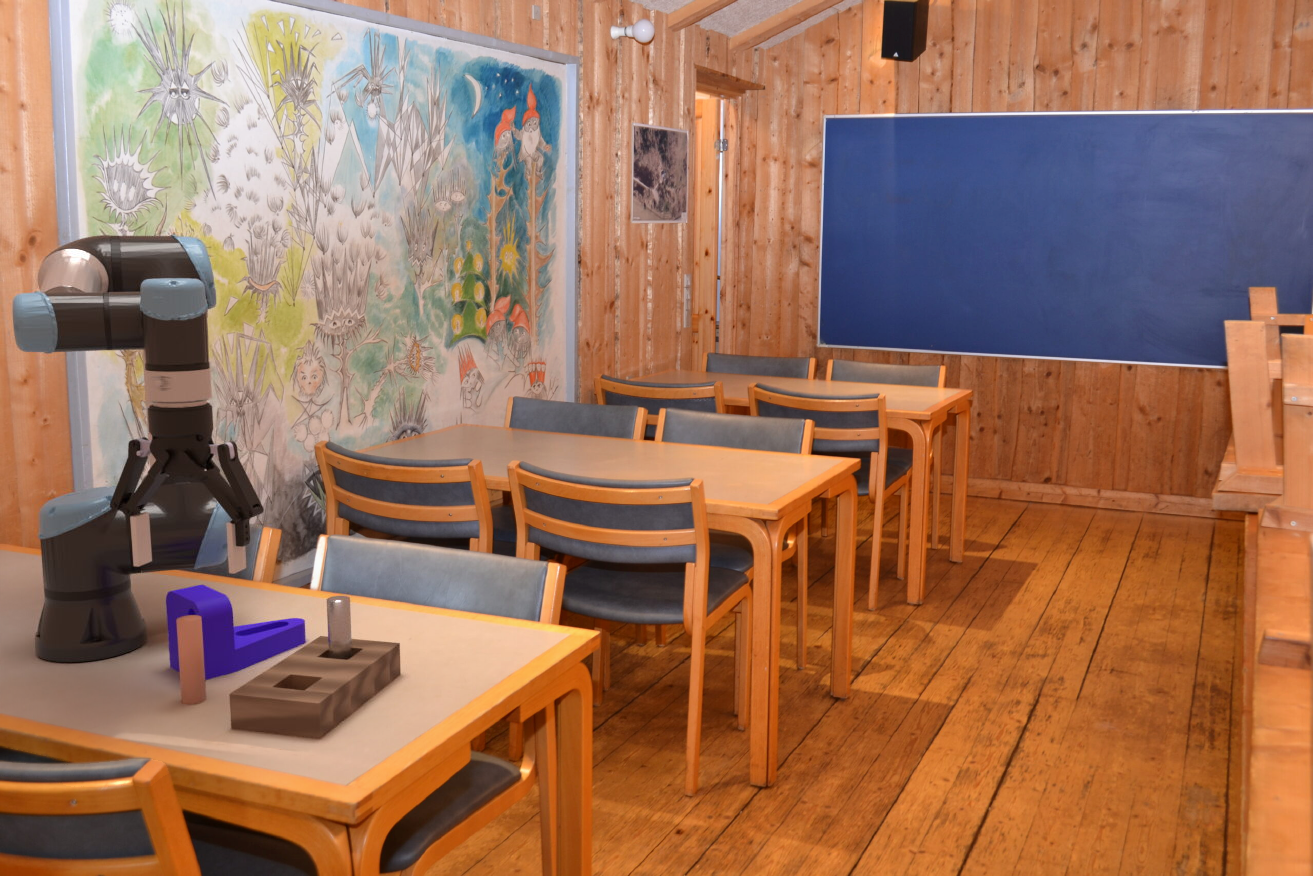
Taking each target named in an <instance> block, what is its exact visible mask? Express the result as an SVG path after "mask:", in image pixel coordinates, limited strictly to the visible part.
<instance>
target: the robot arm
mask: <svg viewBox="0 0 1313 876" xmlns="http://www.w3.org/2000/svg"><path fill="white" fill-rule="evenodd" d="M37 271H38V273H37V285H38V286H37V287H38V289H39V291H34V292H24V293H22V292H21V293H17V294H16V295H15V296H14V297H13V299H12V309H11V310H12V325H13V326H12V327H13V335H14V340H15V344H16V347H17V348H18V349H19V351H22V352H25V353H44V354H46V355H47V354H52V353H63V352H65V353H68V352H92V351H93V352H94V351H138V350H140V351H141V350H142V353H141V354H142V367H143V380H144V381H143V382H144V396H145V397H144V399H145V411H146V414H145V415H146V426H147V428H146V430H147V437H145V436H142V437H138V438H135V439H131V440H129V441H128V445H127V446H128V448H127V459H126V461H125V463H124V466H123V469H122V472H121V474H120V476H119V479H118V482H117V485H116V486H108V487H107V486H100V487H99V486H98V487H92V488H86V489H80V490H76V491H73V492H69V493H66V494H62V495H59V496H56V497H54V498H52V499H50V500H48V501H46V502H45V503H44V504H43V505H42V506H41V508H40V509H39V512H38V530H39V532H38V533H37V538H38V539H39V540H40V553H41V564H42V578H43V579H42V581H43V592H44V602H43V606H42V610H41V613H40V618H39V622H38V625H37V631H36V633H35V636H34V650H35V654H36V656H37V657H39V658H41V659H43V660H47V661H51V662H61V663H79V662H91V661H96V660H103V659H108V658H112V657H117V656H120V655H123V654H127V653H128V652H132V651H134V650H136V649H138V648H140V647H142V646H143V645H144V644H145V643H146V642H147V640H148V631H147V630H148V629H147V623H146V621H145V619H144V618H143V617H142V613H141V610H140V608H139V605H138V604H137V603H138V602H137V600H136V598H135V597H134V594H133V590H132V582H131V575H134V574H136V575H137V574H146V573H157V572H158V573H159V572H167V571H177V570H188V569H194V570H197V569H199V568H204V567H211V566H217V565H220V564H221V565H222V563H224V562H225V561H226V560H227V559H228V560H227V561H228V573H229V574H237V573H239V572H241V571H243V570H244V569H247V557H246V555H247V554H246V546H248V545H249V544H250V542H251V529H250V527H251V526H250V520H251V519H253V518H255V517H257V516H259V515H262V514H263V513H264V511H265V510H264V506H263V504H262V502H261V501H260V499H259V496H258V494H257V492H256V490H255V489H254V486H253V485H252V482H251V481H250V478H249V477H248V475H247V473H246V471H245V468H244V466H243V464H242V462H241V460H240V458H239V452H238V446H237V445H238V444H237V442H235V441H232V440H231V441H228V442H223V443H217V444H215V443H214V441H213V437H212V435H213V431H214V416H213V405H212V404H211V403H210V402H208V401H209V400H210V399H212V397H213V394H212V393H213V391H212V379H211V367H210V366H211V365H210V354H209V350H210V349H209V326H208V317H209V312H208V310H211V309H214V308H215V307H216V306H217V290H216V284H215V279H214V278H215V277H214V272H213V271H214V270H213V267H212V263H211V259H210V256H209V252H208V249H207V247H206V245H205V243H204V242H203V241H202V240H201V239H200V238H198V237H194V236H185V235H184V236H181V235H180V236H178V235H176V234H170V235H111V234H105V235H104V234H102V235H92V236H87V237H81V238H80V239H75V240H73V241H70V242H67V243H66V244H63V245H61V246H59V247H57V248H56V249H54V250H52V251H51V252H50V253H49V254H48V255H46V256H45V257H44V259H43V261H42V262H41V264H40V266H39V269H38V270H37ZM214 455H215V456H214ZM213 457H214V458H215V460H218V462H219V466H220V467H221V470H222V472H223V474H224V476H225V478H226V479H225V478H224V476H223V475H222V474H221V470H220V468H219V467H218V466H217V464H216V463H215V462H214V461H213ZM148 458H149V470H148V471H147V475H146V476H145V478H144V479H143V480H142V481H141V483H140V484H139V481H140V479H141V476H142V474H143V472H144V469H145V467H146V464H147V461H148ZM138 484H139V486H138Z"/></svg>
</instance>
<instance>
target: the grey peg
mask: <svg viewBox="0 0 1313 876" xmlns="http://www.w3.org/2000/svg"><path fill="white" fill-rule="evenodd" d="M351 614H352V613H351V598H350V596H348V595H333V596H330V597H327V599H326V616H327V635H328V636H327V637H328V645H329V658H332V659H343V660H348V659H350V658H351V657H352V639H353V638H352V621H351V620H352V619H351V618H352V616H351Z"/></svg>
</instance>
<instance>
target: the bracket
mask: <svg viewBox="0 0 1313 876" xmlns="http://www.w3.org/2000/svg"><path fill="white" fill-rule="evenodd" d="M165 598H166V599H165V606H166V608H165V609H166V623H167V624H166V625H167V639H168V650H169V651H168V653H169V654H168V655H169V666H170V669H173V670H175V671H176V672H178V673H179V674H180V668H179V653H178V637H177V621H176V620H177V619H178V618H180V617H183V616H188V615H198V616H201V617H202V634H203V651H204V668H205V681H207V680H210V679H211V680H212V679H216V678H217V677H218V678H219V677H221V676H226V675H229V674H233V673H237V672H239V671H241V670H244V669H246V668H249V667H251V666H253V665H255V664H258V663H261V662H263V661H267V660H268V659H271V658H273V657H275V656H277V655H280V654H282V653H285V652H288V651H290V650H292V649H295V648H297V647H300V646H302V645H304V644H305V643H306V642H307V641H306V620H305V619H303V618H299V617H289V618H284V619H277V620H275V619H274V620H269V621H262V622H256V623H249V624H242V625H236V626H235V625H234V612H233V611H234V610H233V605H232V603H231V600H230V598H229V596H228V595H226V594H224V593H222V592H220V591H218V590H217V589H216V590H215V589H214V588H211V587H210V586H207V585H205V584H199V585H193V586H190V587H185V588H184V587H183V588H179V589H174V590H170V591H168V592H167V594H166V597H165Z"/></svg>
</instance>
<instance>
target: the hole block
mask: <svg viewBox="0 0 1313 876" xmlns="http://www.w3.org/2000/svg"><path fill="white" fill-rule="evenodd" d="M351 639H352V657H351V658H350V659H348V660H343V659H332V658H329V645H328V636H326V635H325V636H324V635H323V636H322V635H320V636H318V637H317V638H315V639H314V640H312V641H310V642H309V643H307V644H306V645H304V646H302V647H301V648H300V649H297V650H296V651H294V652H293V653H291V654H290V655H288V656H286V657H285V658H284V659H282V660H281V661H279V662H277V663H276V664H274V665H273V666H271V667H270V668H268V669H266V670H265V671H263V672H262V673H260V674H258V675H257V676H255V677H254V678H252V679H250V680H249V681H248V682H245V684H243V685H242V686H239V687H238V688H236V689H234V690H233V691H232V692H230V693H229V709H230V710H229V711H230V726H231V727H230V729H231V730H232V731H233V730H235V731H243V732H253V733H262V734H270V735H279V736H288V737H289V736H290V737H296V738H297V737H298V738H307V739H313V740H322V739H323V738H324V737H326V736H327V734H329V733H330V732H331V731H333V730H334V729H335V728H337V726H339V725H340V724H341V723H342V722H344V721H346V719H347V718H349V717H351V715H352V714H354V713H355V712H356V711H357V710H359V709H360V708H361V707H363V706H364V704H366V703H367V702H369V701H370V700H371V699H372V698H373V697H374V696H376V695H377V694H378V693H380V692H381V691H382V690H383V689H385V688H386V687H387V686H389V685H390V684H391V683H392V682H393V681H395V680H396V679H397V678H399V676H401V648H400V647H401V646H400V645H401V644H400V642H391V641H390V642H389V641H381V640H371V639H370V640H367V639H356V638H351Z"/></svg>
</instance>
